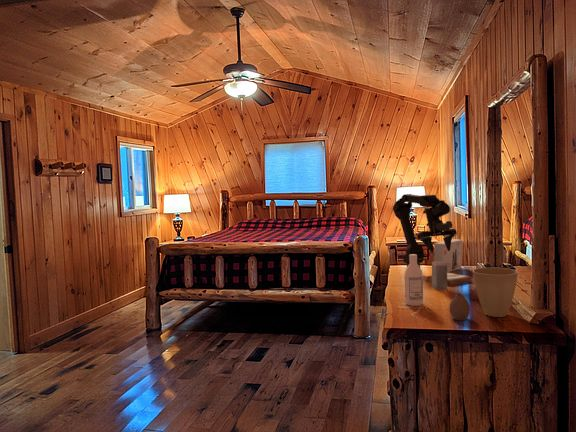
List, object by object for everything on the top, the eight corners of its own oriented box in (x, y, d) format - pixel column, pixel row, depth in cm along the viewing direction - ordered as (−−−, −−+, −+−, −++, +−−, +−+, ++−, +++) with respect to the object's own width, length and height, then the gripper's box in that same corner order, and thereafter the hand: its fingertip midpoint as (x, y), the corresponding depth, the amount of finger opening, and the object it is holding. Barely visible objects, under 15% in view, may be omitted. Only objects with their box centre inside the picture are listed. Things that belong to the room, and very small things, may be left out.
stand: (427, 281, 230) (427, 275, 230) (447, 277, 237) (447, 271, 237) (450, 286, 218) (450, 280, 218) (470, 281, 225) (470, 276, 225)
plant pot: (519, 311, 175) (519, 268, 173) (516, 322, 162) (515, 276, 161) (476, 307, 182) (476, 266, 181) (469, 317, 169) (469, 273, 168)
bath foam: (427, 304, 188) (426, 254, 187) (413, 307, 185) (412, 256, 184) (415, 301, 195) (414, 252, 193) (401, 303, 192) (400, 254, 190)
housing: (432, 287, 217) (431, 261, 216) (442, 286, 217) (442, 261, 216) (436, 290, 212) (436, 263, 211) (447, 289, 212) (447, 262, 211)
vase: (446, 316, 172) (446, 292, 171) (464, 315, 172) (464, 291, 172) (454, 322, 165) (454, 297, 164) (473, 321, 165) (473, 296, 165)
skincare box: (442, 274, 245) (442, 243, 244) (433, 273, 249) (432, 243, 248) (462, 268, 259) (462, 239, 258) (453, 267, 263) (453, 238, 262)
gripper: (426, 216, 218) (433, 249, 214) (460, 214, 224) (468, 246, 220) (413, 223, 228) (420, 254, 224) (446, 220, 234) (453, 251, 230)
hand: (440, 251), depth 224 cm, fingers open, 9 cm apart
